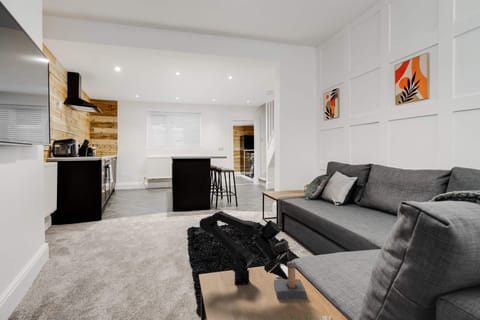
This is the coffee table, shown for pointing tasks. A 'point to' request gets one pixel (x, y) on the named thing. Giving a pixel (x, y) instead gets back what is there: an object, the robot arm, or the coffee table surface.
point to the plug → (291, 275)
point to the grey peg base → (289, 290)
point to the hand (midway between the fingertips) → (290, 274)
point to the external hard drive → (284, 271)
